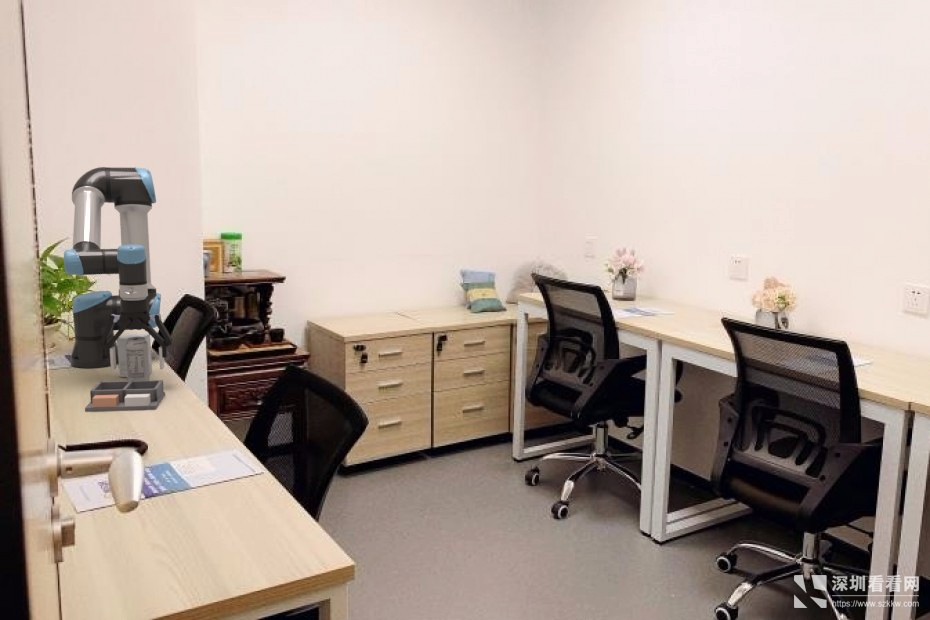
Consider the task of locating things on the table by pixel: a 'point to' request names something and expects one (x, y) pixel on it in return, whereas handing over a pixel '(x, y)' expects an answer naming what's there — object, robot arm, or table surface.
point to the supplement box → (122, 352)
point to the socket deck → (128, 390)
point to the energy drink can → (137, 359)
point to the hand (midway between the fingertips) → (138, 368)
